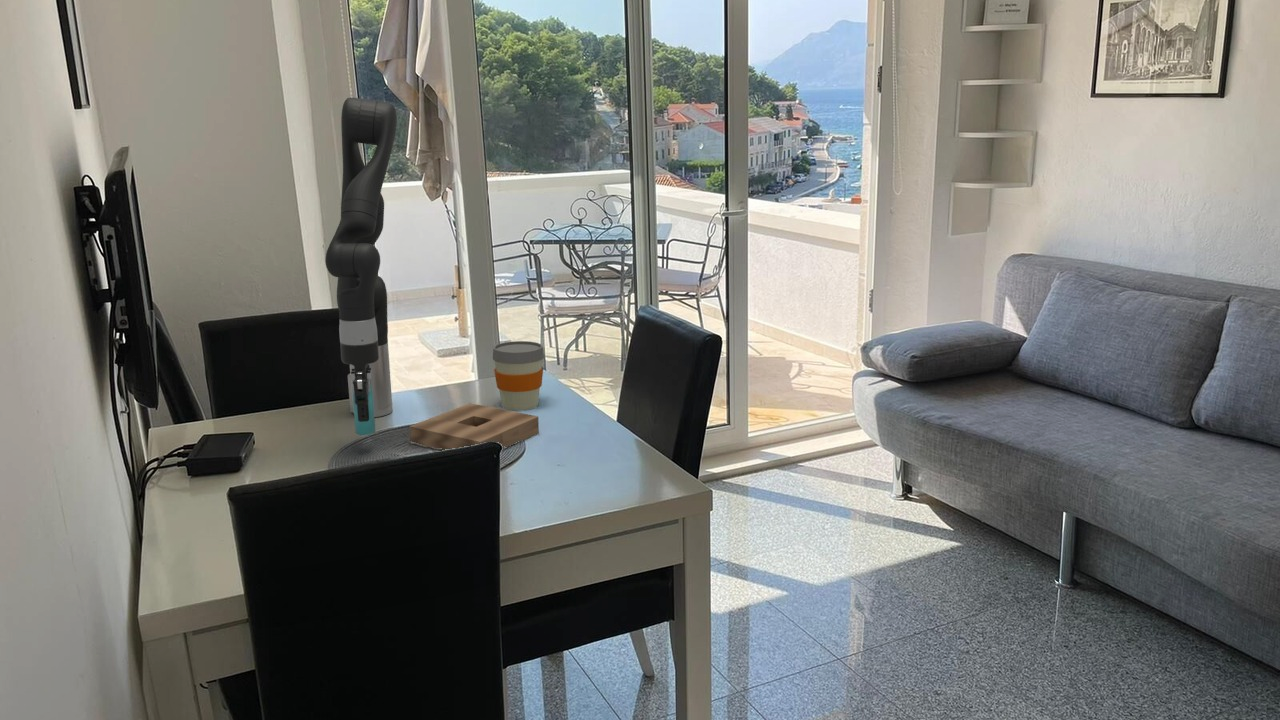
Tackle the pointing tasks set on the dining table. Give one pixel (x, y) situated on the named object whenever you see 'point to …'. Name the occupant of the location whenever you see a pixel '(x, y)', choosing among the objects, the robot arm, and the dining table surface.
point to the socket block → (474, 427)
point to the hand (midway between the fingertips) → (364, 417)
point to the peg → (369, 426)
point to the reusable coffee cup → (518, 373)
